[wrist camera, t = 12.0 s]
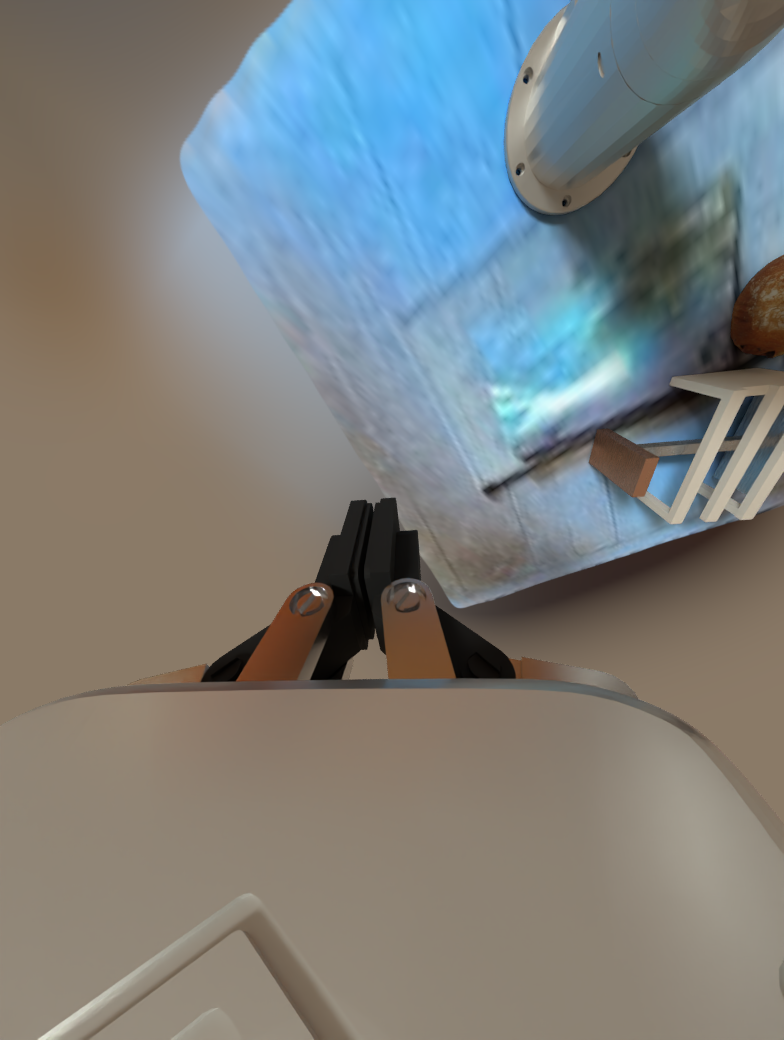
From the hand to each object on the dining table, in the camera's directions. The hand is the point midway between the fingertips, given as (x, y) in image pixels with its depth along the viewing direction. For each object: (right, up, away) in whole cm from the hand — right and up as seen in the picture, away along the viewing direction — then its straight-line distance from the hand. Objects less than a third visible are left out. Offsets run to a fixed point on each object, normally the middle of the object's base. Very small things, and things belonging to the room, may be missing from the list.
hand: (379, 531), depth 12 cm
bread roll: (+45, +25, +23) cm, 56 cm away
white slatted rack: (+43, +12, +32) cm, 55 cm away
